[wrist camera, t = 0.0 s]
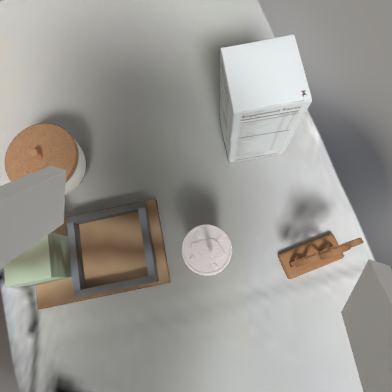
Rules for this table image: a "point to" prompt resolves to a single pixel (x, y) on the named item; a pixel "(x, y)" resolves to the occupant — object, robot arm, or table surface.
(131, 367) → the table surface
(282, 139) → the supplement box
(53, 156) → the lidded jar
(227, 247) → the smoothie
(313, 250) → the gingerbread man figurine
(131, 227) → the board
